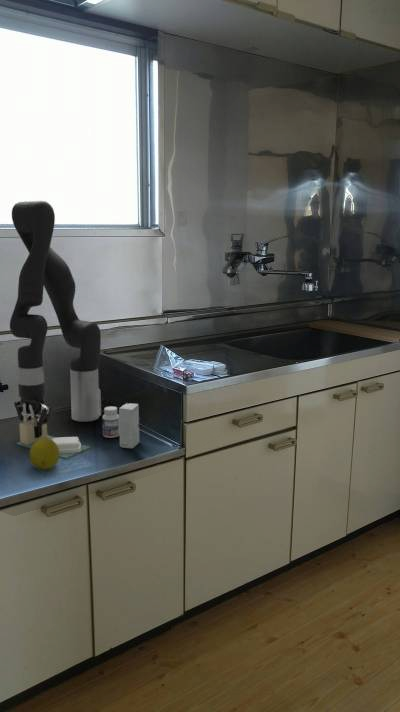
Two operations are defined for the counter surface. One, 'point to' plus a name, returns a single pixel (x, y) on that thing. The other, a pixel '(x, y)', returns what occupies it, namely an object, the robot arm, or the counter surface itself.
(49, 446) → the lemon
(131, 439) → the skincare box
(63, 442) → the soap
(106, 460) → the counter surface
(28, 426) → the pale green tray
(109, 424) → the pill bottle
